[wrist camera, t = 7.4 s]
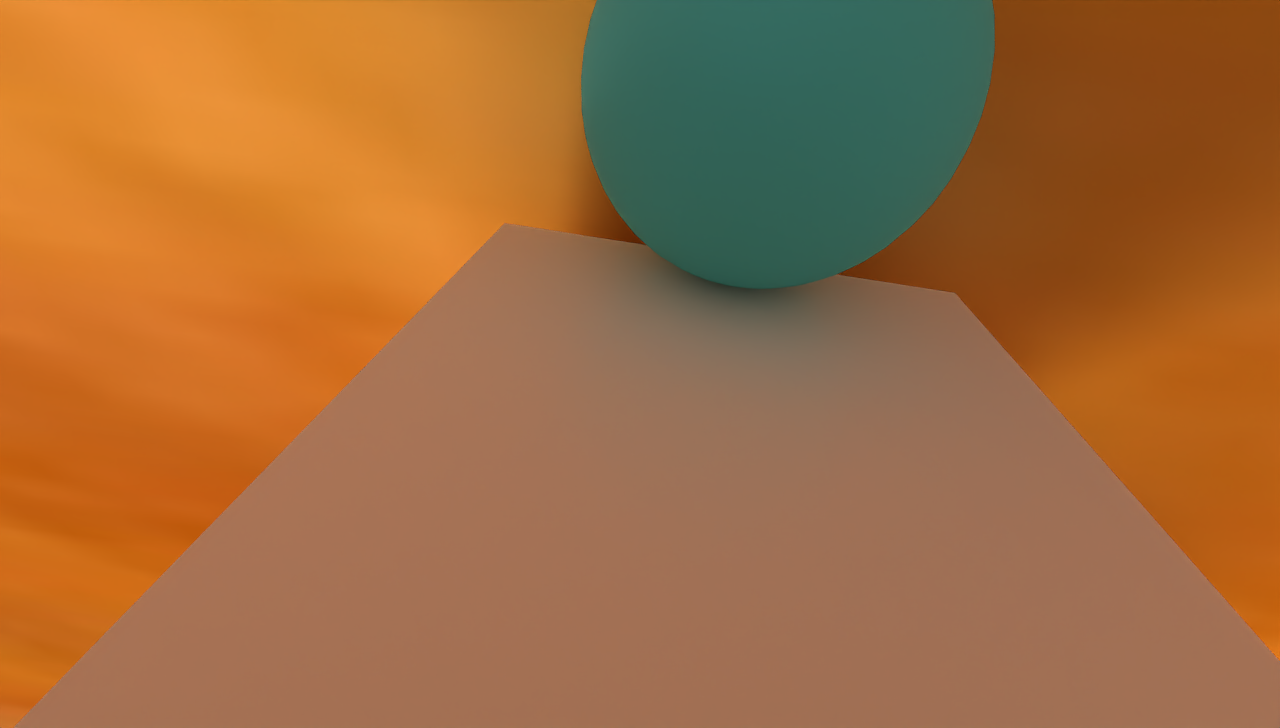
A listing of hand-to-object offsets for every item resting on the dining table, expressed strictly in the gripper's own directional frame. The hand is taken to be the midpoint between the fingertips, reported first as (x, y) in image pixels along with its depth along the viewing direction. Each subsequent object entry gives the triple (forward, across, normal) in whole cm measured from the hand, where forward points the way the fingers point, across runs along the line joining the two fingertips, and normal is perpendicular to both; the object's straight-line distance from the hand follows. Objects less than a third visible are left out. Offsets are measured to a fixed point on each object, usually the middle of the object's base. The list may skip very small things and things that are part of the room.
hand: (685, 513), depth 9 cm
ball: (+2, 0, -6) cm, 6 cm away
